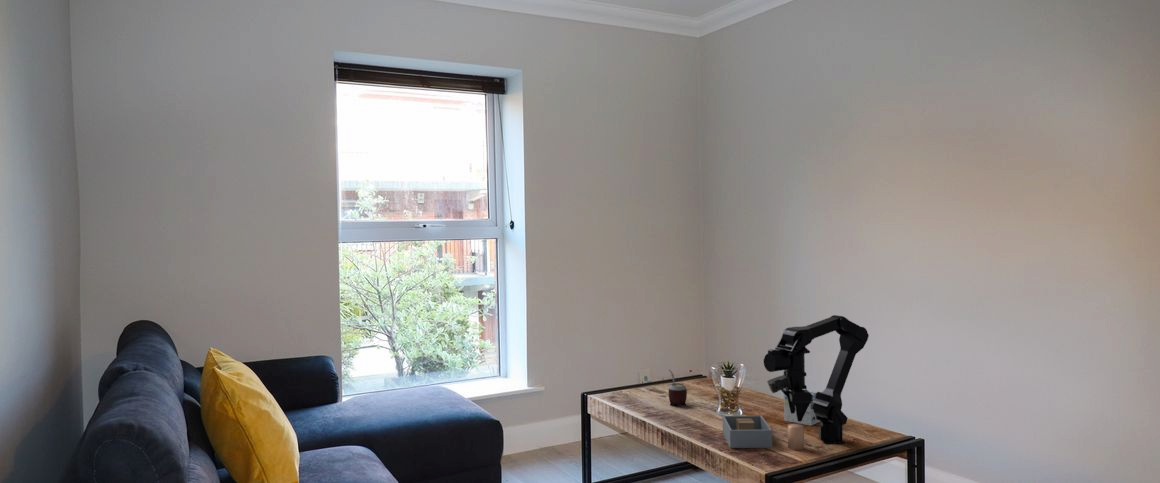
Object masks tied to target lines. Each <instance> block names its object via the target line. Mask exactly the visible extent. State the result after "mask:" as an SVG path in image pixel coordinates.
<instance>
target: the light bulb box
mask: <svg viewBox="0 0 1160 483" xmlns="http://www.w3.org/2000/svg"><path fill="white" fill-rule="evenodd" d="M808 391H809V392H810V393H811V394H812V395H813V401H814V399H815V396H816V393H817V392H818V391H811V390H808ZM813 401H811V403H810V405H809V406H808V408H807V410H806V412H805V414H804V417H803V419H802V421H798V420H797V415H796V410H795V413H791V412H790V408H789V404H788V400H787V396H786V395H785V394H784V393H783V419H784V422H789V423H793V424H800V425H805V426H811V427H812V426H814V425H816V424H818V423H820V420H817V419H816V415H815V413H814V410H813V404H814V403H812V402H813Z"/></svg>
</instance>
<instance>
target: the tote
mask: <svg viewBox="0 0 1160 483" xmlns="http://www.w3.org/2000/svg"><path fill="white" fill-rule="evenodd" d="M736 419H752V420H753V422H754V430H737V426H736ZM722 434H723V436H724V438H725V440H726V442H727V444H728V446H729V448H730V449H737V448H738V449H745V448H747V449H753V448H754V449H756V448H757V449H758V448H761V449H763V448H766V449H767V448H770V449H771V448H773V430H772V428H771V427H770V425H769V424H768V423H767V421H766V420H765V418H764V417H763V415H722Z"/></svg>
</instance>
